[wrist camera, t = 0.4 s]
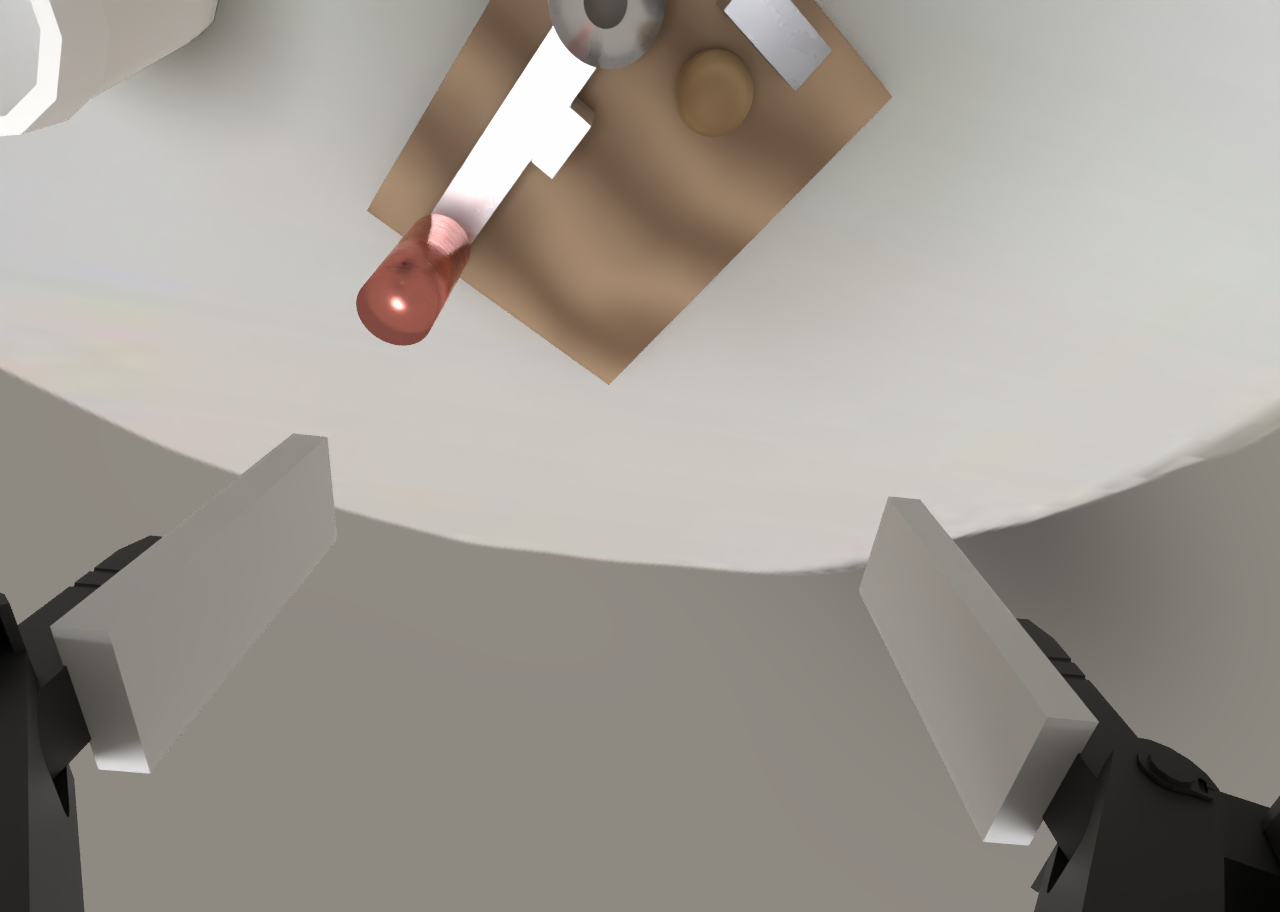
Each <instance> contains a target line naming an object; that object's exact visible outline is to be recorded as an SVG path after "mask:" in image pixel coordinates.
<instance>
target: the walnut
mask: <svg viewBox="0 0 1280 912" xmlns="http://www.w3.org/2000/svg"><path fill="white" fill-rule="evenodd" d="M753 92H754V91H753V80H752V76H751V73H750V71H749V69H748V67H747V65H746V64H745V62H744V61H743V60H742V59H741V58H740V57H739V56H738V55H737V54H735V53H733V52H731V51H729V50H726V49H722V48H711V49H707V50H703V51H701V52H699V53H698V54H696V55H695V56H693V57H692V58H691V59H690V60H689V61H688V62H687V63H686V65H685V66H684V67H683V69H682V71H681V73H680V75H679V78H678V81H677V85H676V95H675V97H676V105H677V109H678V112H679V114H680V116H681V118H682V120H683V121H684V123H685V124H686V125H687V126H688V127H689V128H690V129H691V130H692V131H694V132H696V133H698V134H700V135H703V136H708V137H717V136H722V135H725V134H727V133H729V132H731V131H733V130H734V129H735V128H737V127H738V126H739V125H740V124H741V123H742V121H743V120H744V119H745V117H746V116H747V114H748V112H749V110H750V107H751V104H752V100H753Z"/></svg>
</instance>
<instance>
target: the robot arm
mask: <svg viewBox="0 0 1280 912" xmlns="http://www.w3.org/2000/svg"><path fill="white" fill-rule="evenodd" d="M336 540H337V531H336V522H335V511H334V501H333V491H332V480H331V470H330V460H329V450H328V439H327V437H320V436H311V435H301V434H292V435H291V436H290V437H288V438H287V439H286V440H285V441H283V442H282V443H281V444H279V445H278V446H277V447H276V448H274V449H273V450H272V451H271V452H269V453H268V454H267V455H266V456H264V457H263V458H262V459H261V460H259V461H258V462H257V463H256V464H254V465H253V466H252V467H250V468H249V469H248V470H247V471H245V472H244V473H243V474H242V475H240V476H239V477H238V478H237V479H235V480H234V481H233V482H232V483H230V484H229V485H228V486H226V487H225V488H224V489H223V490H221V491H220V492H219V493H218V494H216V495H215V496H214V497H213V498H211V499H210V500H209V501H208V502H206V503H205V504H204V505H203V506H202V507H200V508H199V509H197V510H196V511H195V512H194V513H193V514H191V515H190V516H189V517H187V518H186V519H185V520H184V521H182V522H181V523H180V524H179V525H177V526H176V527H175V528H174V529H172V530H171V531H170V532H168V533H167V534H166V535H165V536H163V537H160V536H159V537H158V536H149V537H146V538H144V539H142V540H139V541H137V542H135V543H133V544H131V545H128V546H126V547H124V548H121V549H119V550H118V551H116V552H115V553H114V554H112V555H111V556H110V557H109V558H107V559H106V560H104V561H103V562H102V563H100V564H99V565H98V566H96V567H95V568H94V571H93V572H91V571H90V572H88V573H87V574H86V575H84V576H83V577H82V578H80V579H79V580H78V581H76V582H75V585H74V587H68V588H67V589H66V590H64V591H63V592H62V593H60V594H59V595H58V596H56V597H55V598H54V599H52V600H51V601H50V602H48V603H47V604H46V605H44V606H43V607H42V608H41V609H39V610H38V611H36V612H35V613H34V614H32V615H31V616H30V617H28V618H27V619H26V620H24V621H23V622H22V623H20V624H19V625H17V623H16V620H15V617H14V615H13V612H12V609H11V606H10V604H9V602H8V600H7V598H6V596H5V594H2V593H0V912H84V901H83V888H82V875H81V862H80V849H79V836H78V824H77V811H76V798H75V785H74V777H73V775H72V772H71V769H70V766H69V762H70V761H71V760H72V759H73V758H74V757H75V756H76V755H77V754H78V753H79V752H80V751H81V750H82V749H83V748H84V747H85V745H87V743H88V742H90V745H91V748H92V751H93V754H94V757H95V760H96V763H97V766H98V768H99V769H102V770H114V771H126V772H138V773H151V772H152V771H153V769H154V768H155V767H156V766H157V765H158V763H159V762H160V761H161V760H162V758H163V757H164V756H165V754H166V753H167V752H168V751H169V750H170V748H171V747H172V746H173V745H174V743H175V742H176V741H177V740H178V738H179V737H180V736H181V735H182V733H183V732H184V731H185V730H186V728H187V727H188V726H189V724H190V723H191V722H192V721H193V719H194V718H195V717H196V716H197V714H198V713H199V712H200V711H201V709H202V708H203V707H204V706H205V704H206V703H207V702H208V701H209V699H210V698H211V697H212V696H213V694H214V693H215V692H216V691H217V689H218V688H219V687H220V685H221V684H222V683H223V682H224V681H225V679H226V678H227V677H228V676H229V674H230V673H231V672H232V670H233V669H234V668H235V667H236V666H237V664H238V663H239V662H240V660H241V659H242V658H243V657H244V655H245V654H246V653H247V652H248V651H249V649H250V648H251V647H252V645H253V644H254V643H255V642H256V641H257V639H258V638H259V636H261V634H262V633H263V632H264V630H265V629H266V628H267V627H268V626H269V624H270V623H271V622H272V621H273V619H274V618H275V617H276V616H277V614H278V613H279V611H281V609H282V608H283V607H284V605H285V604H286V603H287V602H288V600H289V599H290V598H291V596H292V595H293V594H294V593H295V592H296V590H297V589H298V588H299V587H300V585H301V584H302V583H303V582H304V580H305V579H306V578H307V576H308V575H309V574H310V573H311V572H312V570H313V569H314V568H315V567H316V565H317V564H318V563H319V562H320V560H321V559H322V558H323V556H324V555H325V554H326V553H327V552H328V550H329V549H330V548H331V547H332V545H333V544H334V542H336ZM859 592H860V594H861V596H862V598H863V600H864V602H865V604H866V607H867V608H868V611H869V612H870V614H871V617H872V619H873V621H874V623H875V625H876V627H877V629H878V631H879V633H880V635H881V636H882V638H883V641H884V643H885V645H886V647H887V649H888V651H889V653H890V655H891V657H892V659H893V661H894V663H895V665H896V667H897V669H898V671H899V673H900V675H901V677H902V679H903V681H904V683H905V685H906V687H907V689H908V691H909V693H910V695H911V697H912V699H913V701H914V703H915V705H916V707H917V709H918V711H919V713H920V715H921V718H922V719H923V721H924V724H925V725H926V728H927V730H928V732H929V734H930V736H931V738H932V740H933V742H934V744H935V746H936V748H937V750H938V752H939V754H940V756H941V758H942V760H943V762H944V764H945V766H946V768H947V770H948V772H949V774H950V776H951V778H952V780H953V782H954V784H955V786H956V788H957V790H958V792H959V794H960V796H961V798H962V800H963V802H964V804H965V806H966V808H967V810H968V812H969V814H970V816H971V818H972V820H973V823H974V825H975V827H976V828H977V831H978V832H979V835H980V837H981V839H982V841H983V842H995V843H1006V844H1018V845H1029V844H1030V842H1031V840H1032V839H1033V837H1034V835H1035V833H1036V831H1037V830H1038V828H1039V826H1040V825H1041V823H1042V821H1043V820H1044V821H1045V823H1046V825H1047V826H1048V828H1049V829H1050V831H1051V833H1052V835H1053V836H1054V838H1055V840H1056V841H1057V844H1056V846H1055V848H1054V849H1053V851H1052V853H1051V854H1050V856H1049V858H1048V860H1047V861H1046V863H1045V864H1044V866H1043V868H1042V870H1041V871H1040V873H1039V875H1038V876H1037V878H1036V880H1035V881H1034V883H1033V885H1032V886H1031V888H1032V889H1034V890H1035V891H1037V892H1039V891H1040V892H1039V895H1038V899H1037V903H1036V907H1035V910H1034V912H1280V796H1279V798H1278V799H1277V800H1276V801H1275V803H1274V804H1273V805H1272V806H1271V808H1269V807H1265V806H1262V805H1259V804H1256V803H1253V802H1250V801H1247V800H1244V799H1241V798H1238V797H1235V796H1232V795H1228V794H1226V793H1223V792H1220V791H1219V789H1218V788H1217V786H1216V785H1215V784H1214V783H1213V781H1212V780H1211V779H1210V778H1209V776H1208V775H1207V774H1206V773H1205V772H1203V771H1202V770H1201V769H1200V768H1199V767H1198V766H1196V765H1195V764H1194V763H1193V762H1192V761H1190V760H1189V759H1188V758H1186V757H1184V756H1182V755H1181V754H1179V753H1177V752H1176V751H1174V750H1172V749H1171V748H1169V747H1167V746H1164V745H1162V744H1159V743H1156V742H1154V741H1152V740H1147V739H1143V738H1138V737H1137V736H1136V735H1135V734H1134V732H1133V731H1132V730H1131V729H1130V728H1129V727H1128V725H1127V724H1126V723H1125V722H1124V721H1123V719H1122V718H1121V717H1120V716H1119V715H1118V714H1117V712H1116V711H1115V710H1114V709H1113V708H1112V707H1111V705H1110V704H1109V703H1108V702H1107V701H1106V700H1105V698H1104V697H1103V696H1102V695H1101V694H1100V692H1099V691H1098V690H1097V689H1096V688H1095V686H1094V685H1093V684H1092V683H1091V682H1090V681H1089V680H1086V679H1085V675H1084V674H1083V672H1082V671H1081V670H1080V669H1079V668H1078V667H1077V665H1076V664H1075V663H1071V658H1070V657H1069V656H1068V655H1067V654H1066V652H1065V651H1064V650H1063V649H1062V648H1061V647H1060V645H1059V644H1058V643H1057V642H1056V641H1055V639H1053V638H1052V637H1051V636H1050V635H1048V634H1047V633H1046V632H1044V631H1043V630H1042V629H1040V628H1039V627H1038V626H1036V625H1035V624H1033V623H1032V622H1031V621H1030V620H1028V619H1017V618H1015V617H1014V616H1013V615H1012V613H1011V612H1010V611H1009V610H1008V608H1007V607H1006V606H1005V605H1004V603H1003V602H1002V601H1001V600H1000V599H999V597H998V596H997V595H996V593H995V592H994V591H993V590H992V589H991V587H990V586H989V585H988V584H987V583H986V581H985V580H984V579H983V577H982V576H981V575H980V574H979V572H978V571H977V570H976V569H975V567H974V566H973V565H972V564H971V562H970V561H969V560H968V559H967V557H966V556H965V555H964V554H963V553H962V551H961V550H960V549H959V548H958V546H957V545H956V544H955V543H954V541H953V540H952V539H951V538H950V536H949V535H948V534H947V533H946V531H945V530H944V529H943V528H942V526H941V525H940V524H939V523H938V521H937V520H936V519H935V518H934V516H933V515H932V514H931V513H930V512H929V510H928V509H927V508H926V507H925V505H924V504H923V503H922V502H921V500H918V499H908V498H899V497H888V500H887V503H886V506H885V509H884V512H883V516H882V519H881V522H880V525H879V528H878V531H877V535H876V538H875V541H874V544H873V547H872V550H871V554H870V557H869V560H868V563H867V566H866V569H865V573H864V576H863V579H862V582H861V585H860V589H859Z"/></svg>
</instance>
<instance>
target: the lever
mask: <svg viewBox="0 0 1280 912" xmlns="http://www.w3.org/2000/svg"><path fill="white" fill-rule="evenodd" d="M548 8H549V13H550V17H551V21H552V24H553V27H552V29H551V30H550V32H549V33H548V35H547V36H546V38H545V39H544V41H543V43H542V44H541V46H540V47H539V49H538V50H537V52H536V53H535V55H534V56H533V58H532V59H531V61H530V62H529V64H528V66H527V67H526V69H525V70H524V72H523V73H522V75H521V76H520V78H519V79H518V81H517V82H516V84H515V85H514V87H513V89H512V90H511V92H510V93H509V95H508V96H507V98H506V99H505V101H504V102H503V104H502V105H501V107H500V109H499V110H498V112H497V113H496V115H495V116H494V118H493V119H492V121H491V122H490V124H489V125H488V127H487V128H486V130H485V132H484V133H483V135H482V136H481V138H480V139H479V141H478V142H477V144H476V145H475V147H474V148H473V150H472V151H471V153H470V155H469V156H468V158H467V159H466V161H465V162H464V164H463V165H462V167H461V168H460V170H459V171H458V173H457V175H456V176H455V178H454V179H453V181H452V182H451V184H450V185H449V187H448V188H447V190H446V191H445V193H444V194H443V196H442V198H441V199H440V201H439V202H438V204H437V205H436V207H435V208H434V210H433V211H432V213H431V214H430V215H426V216H424V217H421V218H420V219H418V220H417V221H416V222H415V223H414V225H413V226H412V227H411V228H410V230H409V231H408V232H407V233H406V234H405V236H404V237H403V238H402V239H401V241H400V242H399V243H398V244H397V245H396V247H395V248H394V249H393V250H392V251H391V253H390V254H389V255H388V256H387V258H386V259H385V260H384V261H383V262H382V264H381V265H380V266H379V267H378V268H377V270H376V271H375V272H374V273H373V275H372V276H371V277H370V278H369V279H368V281H367V282H366V283H365V284H364V285H363V287H362V288H361V289H360V291H359V293H358V296H357V301H356V306H357V311H358V315H359V317H360V319H361V321H362V323H363V324H364V325H365V327H366V328H367V329H368V330H369V331H370V332H371V333H372V334H373V335H375V336H376V337H377V338H379V339H381V340H383V341H385V342H388V343H391V344H395V345H411V344H415V343H417V342H419V341H421V340H422V339H424V338H425V337H426V336H427V334H428V333H429V331H430V329H431V327H432V326H433V324H434V322H435V320H436V318H437V317H438V315H439V313H440V311H441V310H442V308H443V306H444V304H445V302H446V301H447V299H448V297H449V295H450V293H451V292H452V290H453V288H454V286H455V284H456V283H457V281H458V279H459V277H460V275H461V274H462V272H463V270H464V268H465V266H466V265H467V263H468V261H469V259H470V255H471V243H472V242H473V241H474V239H475V238H476V236H477V235H478V234H479V232H480V231H481V229H482V228H483V227H484V225H485V224H486V222H487V221H488V220H489V218H490V217H491V215H492V214H493V212H494V211H495V210H496V208H497V207H498V205H499V204H500V203H501V201H502V200H503V198H504V197H505V196H506V194H507V193H508V191H509V190H510V189H511V187H512V186H513V184H514V183H515V182H516V180H517V179H518V177H519V176H520V175H521V173H522V172H523V170H524V169H525V167H526V166H527V165H528V163H529V162H530V160H531V159H532V158H533V159H532V162H533V163H534V164H535V165H536V166H537V167H539V168H540V169H541V170H542V171H543V172H544V173H546V174H547V175H548V176H549V177H550V178H553V177H554V176H555V174H556V173H557V172H558V170H559V169H560V168H561V166H562V165H563V164H564V162H565V161H566V159H567V158H568V157H569V155H570V154H571V153H572V151H573V150H574V149H575V147H576V146H577V145H578V143H579V142H580V141H581V139H582V138H583V137H584V135H585V134H586V133H587V131H588V130H589V129H590V127H591V125H592V121H593V118H594V115H595V112H593V111H592V110H591V109H590V108H589V107H588V106H587V105H586V104H585V103H584V102H583V101H582V100H581V99H579V98H578V97H577V94H578V93H579V92H580V90H581V89H582V87H583V86H584V84H585V83H586V82H587V80H588V79H589V77H590V76H591V75H592V73H593V72H594V70H595V69H596V68H601V69H616V68H621V67H624V66H627V65H629V64H631V63H633V62H635V61H636V60H638V59H639V58H640V57H641V56H642V55H644V54H645V53H646V52H647V50H648V49H649V48H650V47H651V45H652V44H653V42H654V41H655V39H656V37H657V35H658V33H659V31H660V28H661V25H662V21H663V17H664V11H665V0H628V4H627V10H626V13H625V16H624V18H623V20H622V21H621V22H620V23H619V24H618V25H617V26H615V27H613V28H610V29H602V28H599V27H597V26H595V25H594V24H593V23H592V22H591V21H590V20H589V19H588V17H587V15H586V12H585V9H584V0H548ZM533 156H534V157H533Z"/></svg>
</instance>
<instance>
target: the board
mask: <svg viewBox="0 0 1280 912" xmlns="http://www.w3.org/2000/svg"><path fill="white" fill-rule="evenodd" d="M717 1H718V0H665V11H664V17H663V21H662V25H661V28H660V31H659V33H658V35H657V37H656V39H655V41H654V42H653V44H652V45H651V47H650V48H649V49H648V50H647V52H646V53H645V54H644V55H642V56H641V57H640V58H639V59H638V60H636V61H635V62H633V63H631V64H629V65H627V66H624V67H621V68H616V69H601V68H596V69H595V70H594V72H593V73H592V75H591V76H590V77H589V79H588V80H587V82H586V83H585V84H584V86H583V87H582V89H581V90H580V92H579V93H578V94H577V97H578V98H579V99H581V100H582V101H583V102H584V103H585V104H586V105H587V106H588V107H589V108H590V109H591V110H592V111H593V112H595V115H594V118H593V121H592V125H591V127H590V129H589V130H588V131H587V133H586V134H585V135H584V137H583V138H582V139H581V141H580V142H579V143H578V145H577V146H576V147H575V149H574V150H573V151H572V153H571V154H570V155H569V157H568V158H567V159H566V161H565V162H564V164H563V165H562V166H561V168H560V169H559V170H558V172H557V173H556V174H555V176H554V177H553V178H550V177H549V176H548V175H547V174H546V173H544V172H543V171H542V170H541V169H540V168H539V167H537V166H536V165H535V164H534V163H533V162H532V159H533V158H532V159H531V160H530V162H529V163H528V165H527V166H526V167H525V169H524V170H523V172H522V173H521V175H520V176H519V177H518V179H517V180H516V182H515V183H514V184H513V186H512V187H511V189H510V190H509V191H508V193H507V194H506V196H505V197H504V198H503V200H502V201H501V203H500V204H499V205H498V207H497V208H496V210H495V211H494V212H493V214H492V215H491V217H490V218H489V220H488V221H487V222H486V224H485V225H484V227H483V228H482V229H481V231H480V232H479V234H478V235H477V236H476V238H475V239H474V241H473V242H472V243H471V255H470V259H469V261H468V263H467V265H466V266H465V268H464V270H463V272H462V274H461V275H460V278H461V279H463V280H464V281H465V282H467V283H468V284H469V285H471V286H472V287H474V288H475V289H476V290H478V291H479V292H481V293H482V294H483V295H485V296H486V297H488V298H489V299H490V300H492V301H493V302H494V303H496V304H497V305H499V306H500V307H501V308H503V309H504V310H506V311H507V312H508V313H510V314H511V315H513V316H514V317H515V318H517V319H518V320H519V321H521V322H522V323H524V324H525V325H526V326H528V327H529V328H531V329H532V330H533V331H535V332H536V333H537V334H539V335H540V336H542V337H543V338H544V339H546V340H547V341H549V342H550V343H551V344H553V345H554V346H556V347H557V348H558V349H560V350H561V351H562V352H564V353H565V354H567V355H568V356H569V357H571V358H572V359H574V360H575V361H576V362H578V363H579V364H580V365H582V366H583V367H585V368H586V369H587V370H589V371H590V372H592V373H593V374H594V375H596V376H597V377H599V378H600V379H601V380H603V381H604V382H605V383H607V384H608V385H609V384H610V383H611V382H612V381H613V380H614V379H615V378H616V377H617V376H618V375H619V374H620V373H621V372H622V371H623V370H624V369H625V368H626V367H627V366H628V365H629V364H630V363H631V362H632V361H633V360H634V359H635V358H636V357H637V356H638V355H639V354H640V353H641V352H642V351H643V350H644V349H645V348H646V347H647V346H648V344H649V343H650V342H651V341H652V340H653V339H654V338H655V337H656V336H657V335H658V334H659V333H660V332H661V331H662V330H663V329H664V328H665V327H666V326H667V325H668V324H669V323H670V322H671V321H672V320H673V319H674V318H675V317H676V316H677V315H678V314H679V313H680V312H681V311H682V310H683V309H684V308H685V307H686V306H687V305H688V304H689V303H690V302H691V301H692V300H693V299H694V298H695V297H696V296H697V295H698V294H699V293H700V292H701V291H702V290H703V289H704V288H705V287H706V286H707V285H708V284H709V283H710V282H711V280H712V279H713V278H714V277H715V276H716V275H717V274H718V273H719V272H720V271H721V270H722V269H723V268H724V267H725V266H726V265H727V264H728V263H729V262H730V261H731V260H732V259H733V258H734V257H735V256H736V255H737V254H738V253H739V252H740V251H741V250H742V249H743V248H744V247H745V246H746V245H747V244H748V243H749V242H750V241H751V240H752V239H753V238H754V237H755V236H756V235H757V234H758V233H759V232H760V231H761V230H762V229H763V228H764V227H765V226H766V225H767V224H768V223H769V222H770V221H771V220H772V219H773V218H774V216H775V215H776V214H777V213H778V212H779V211H780V210H781V209H782V208H783V207H784V206H785V205H786V204H787V203H788V202H789V201H790V200H791V199H792V198H793V197H794V196H795V195H796V194H797V193H798V192H799V191H800V190H801V189H802V188H803V187H804V186H805V185H806V184H807V183H808V182H809V181H810V180H811V179H812V178H813V177H814V176H815V175H816V174H817V173H818V172H819V171H820V170H821V169H822V168H823V167H824V166H825V165H826V164H827V163H828V162H829V161H830V160H831V159H832V158H833V157H834V156H835V155H836V154H837V152H838V151H839V150H840V149H841V148H842V147H843V146H844V145H845V144H846V143H847V142H848V141H849V140H850V139H851V138H852V137H853V136H854V135H855V134H856V133H857V132H858V131H859V130H860V129H861V128H862V127H863V126H864V125H865V124H866V123H867V122H868V121H869V120H870V119H871V118H872V117H873V116H874V115H875V114H876V113H877V112H878V111H879V110H880V109H881V108H882V107H883V106H884V105H885V104H886V103H887V102H888V101H889V100H890V99H891V98H892V96H891V95H890V94H889V92H888V91H887V90H886V89H885V87H884V86H883V85H882V84H881V82H880V81H879V80H878V79H877V78H876V76H875V75H874V74H873V73H872V71H871V70H870V69H869V68H868V66H867V65H866V64H865V63H864V61H863V60H862V59H861V58H860V57H859V55H858V54H857V53H856V52H855V50H854V49H853V48H852V47H851V45H850V44H849V43H848V42H847V40H846V39H845V38H844V37H843V36H842V34H841V33H840V32H839V31H838V29H837V28H836V27H835V26H834V24H833V23H832V22H831V21H830V19H829V18H828V17H827V16H826V14H825V13H824V12H823V11H822V10H821V8H820V7H819V6H818V5H817V3H816V2H815V1H814V0H791V1H792V3H793V4H794V5H795V6H796V7H797V9H798V10H799V11H800V12H801V13H802V15H803V16H804V17H805V18H806V19H807V21H808V22H809V23H810V24H811V26H812V27H813V28H814V29H815V30H816V32H817V33H818V34H819V35H820V36H821V38H822V39H823V40H824V41H825V42H826V44H827V45H828V46H829V47H830V48H831V50H832V51H831V52H830V53H829V54H828V56H827V57H826V58H825V59H824V60H823V61H822V62H821V63H820V64H819V66H818V67H817V68H816V69H815V70H814V71H813V72H812V73H811V74H810V76H809V77H808V78H807V79H806V80H805V81H804V82H803V83H802V85H801V86H800V87H799V88H798V89H797V90H796V91H794V90H793V89H792V88H791V87H790V86H789V85H788V84H787V83H786V82H785V81H784V80H783V79H782V78H781V77H780V75H779V74H778V73H777V72H776V71H775V70H774V69H773V68H772V66H771V65H770V64H769V63H768V62H767V61H766V60H765V59H764V57H763V56H762V55H761V54H760V53H759V52H758V51H757V50H756V48H755V47H754V46H753V45H752V44H751V43H750V42H749V41H748V39H747V38H746V37H745V36H744V35H743V34H742V33H741V32H740V30H739V29H738V28H737V27H736V26H735V25H734V24H733V23H732V21H731V20H730V19H729V18H728V17H727V16H726V15H725V14H724V12H723V11H722V10H721V9H720V8H719V7H718V6H717V5H716V2H717ZM627 4H628V0H584V9H585V12H586V15H587V17H588V19H589V20H590V21H591V22H592V23H593V24H594V25H595V26H597V27H599V28H602V29H610V28H613V27H615V26H617V25H618V24H619V23H620V22H621V21H622V20H623V18H624V16H625V13H626V10H627ZM552 27H553V24H552V21H551V17H550V13H549V8H548V0H491V1H490V2H489V4H488V6H487V7H486V9H485V11H484V12H483V14H482V16H481V18H480V19H479V21H478V23H477V24H476V26H475V28H474V29H473V31H472V33H471V35H470V36H469V38H468V40H467V41H466V43H465V45H464V46H463V48H462V50H461V52H460V53H459V55H458V57H457V58H456V60H455V62H454V63H453V65H452V67H451V69H450V70H449V72H448V74H447V75H446V77H445V79H444V80H443V82H442V84H441V86H440V87H439V89H438V91H437V92H436V94H435V96H434V97H433V99H432V101H431V103H430V104H429V106H428V108H427V109H426V111H425V113H424V114H423V116H422V118H421V120H420V121H419V123H418V125H417V126H416V128H415V130H414V131H413V133H412V135H411V137H410V138H409V140H408V142H407V143H406V145H405V147H404V148H403V150H402V152H401V154H400V155H399V157H398V159H397V160H396V162H395V164H394V165H393V167H392V169H391V171H390V172H389V174H388V176H387V177H386V179H385V181H384V182H383V184H382V186H381V188H380V189H379V191H378V193H377V194H376V196H375V198H374V199H373V201H372V203H371V205H370V206H369V208H368V210H367V211H368V212H370V213H371V214H372V215H374V216H375V217H377V218H378V219H379V220H381V221H382V222H383V223H385V224H386V225H388V226H389V227H390V228H392V229H393V230H395V231H396V232H397V233H399V234H400V235H402V236H403V237H404V236H405V234H406V233H407V232H408V231H409V230H410V228H411V227H412V226H413V225H414V223H415V222H416V221H417V220H418V219H420V218H421V217H424V216H426V215H430V214H431V213H432V211H433V210H434V208H435V207H436V205H437V204H438V202H439V201H440V199H441V198H442V196H443V194H444V193H445V191H446V190H447V188H448V187H449V185H450V184H451V182H452V181H453V179H454V178H455V176H456V175H457V173H458V171H459V170H460V168H461V167H462V165H463V164H464V162H465V161H466V159H467V158H468V156H469V155H470V153H471V151H472V150H473V148H474V147H475V145H476V144H477V142H478V141H479V139H480V138H481V136H482V135H483V133H484V132H485V130H486V128H487V127H488V125H489V124H490V122H491V121H492V119H493V118H494V116H495V115H496V113H497V112H498V110H499V109H500V107H501V105H502V104H503V102H504V101H505V99H506V98H507V96H508V95H509V93H510V92H511V90H512V89H513V87H514V85H515V84H516V82H517V81H518V79H519V78H520V76H521V75H522V73H523V72H524V70H525V69H526V67H527V66H528V64H529V62H530V61H531V59H532V58H533V56H534V55H535V53H536V52H537V50H538V49H539V47H540V46H541V44H542V43H543V41H544V39H545V38H546V36H547V35H548V33H549V32H550V30H551V29H552ZM711 48H722V49H726V50H729V51H731V52H733V53H735V54H737V55H738V56H739V57H740V58H741V59H742V60H743V61H744V62H745V64H746V65H747V67H748V69H749V71H750V73H751V76H752V80H753V91H754V92H753V100H752V104H751V107H750V110H749V112H748V114H747V116H746V117H745V119H744V120H743V121H742V123H741V124H740V125H739V126H738V127H737V128H735V129H734V130H733V131H731V132H729V133H727V134H725V135H722V136H717V137H708V136H703V135H700V134H698V133H696V132H694V131H692V130H691V129H690V128H689V127H688V126H687V125H686V124H685V123H684V121H683V120H682V118H681V116H680V114H679V112H678V109H677V105H676V97H675V95H676V85H677V81H678V78H679V75H680V73H681V71H682V69H683V67H684V66H685V65H686V63H687V62H688V61H689V60H690V59H691V58H692V57H693V56H695V55H696V54H698V53H699V52H701V51H703V50H707V49H711ZM533 157H534V156H533Z"/></svg>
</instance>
